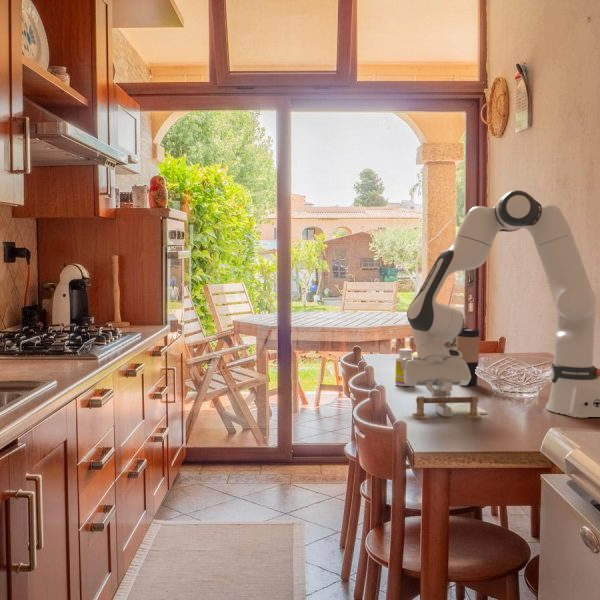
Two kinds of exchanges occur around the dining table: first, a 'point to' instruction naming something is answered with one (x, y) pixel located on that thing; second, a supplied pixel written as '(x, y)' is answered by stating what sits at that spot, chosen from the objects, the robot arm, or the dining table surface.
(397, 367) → the supplement bottle
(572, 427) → the dining table surface
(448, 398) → the rail stand
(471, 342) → the travel mug
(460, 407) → the tile
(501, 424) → the dining table surface
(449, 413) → the c link
